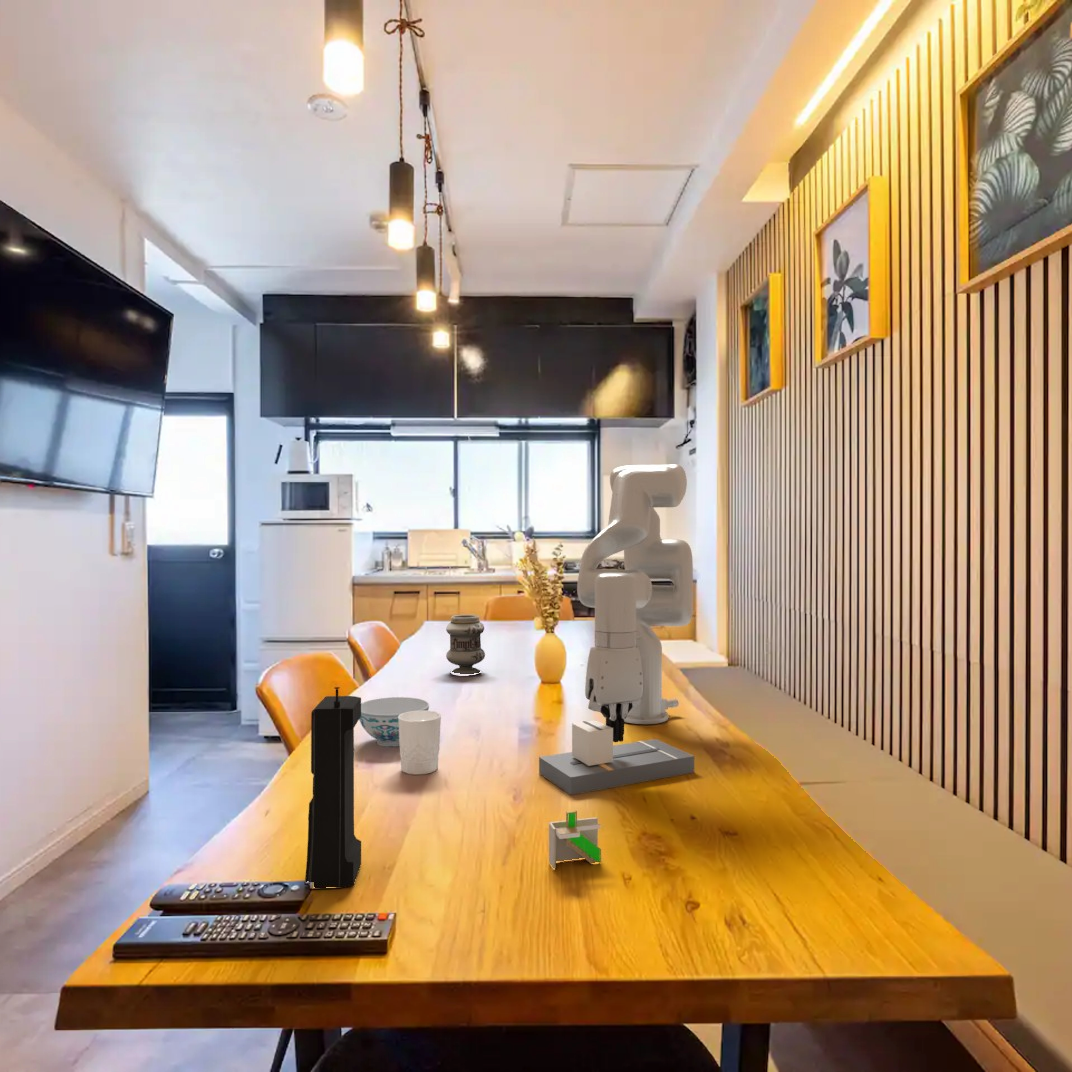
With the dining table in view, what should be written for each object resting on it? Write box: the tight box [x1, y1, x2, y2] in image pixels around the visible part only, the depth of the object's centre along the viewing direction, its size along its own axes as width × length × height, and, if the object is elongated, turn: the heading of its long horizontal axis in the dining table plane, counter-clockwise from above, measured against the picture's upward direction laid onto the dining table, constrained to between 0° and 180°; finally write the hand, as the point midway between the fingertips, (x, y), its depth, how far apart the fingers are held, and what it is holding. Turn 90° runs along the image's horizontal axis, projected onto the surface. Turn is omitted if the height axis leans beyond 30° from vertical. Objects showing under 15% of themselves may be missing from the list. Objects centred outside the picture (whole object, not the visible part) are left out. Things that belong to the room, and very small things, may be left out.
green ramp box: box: [548, 810, 602, 869], centre depth 95 cm, size 4×7×8 cm, turn 105°
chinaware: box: [358, 696, 430, 747], centre depth 151 cm, size 15×15×8 cm
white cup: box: [398, 710, 442, 776], centre depth 134 cm, size 8×8×10 cm
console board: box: [538, 738, 695, 796], centre depth 132 cm, size 26×12×3 cm, turn 116°
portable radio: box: [304, 686, 362, 888], centre depth 93 cm, size 8×6×25 cm
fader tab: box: [571, 719, 614, 766], centre depth 130 cm, size 5×6×6 cm
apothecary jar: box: [445, 614, 486, 674], centre depth 223 cm, size 12×12×18 cm
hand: (614, 739), depth 132 cm, fingers closed
